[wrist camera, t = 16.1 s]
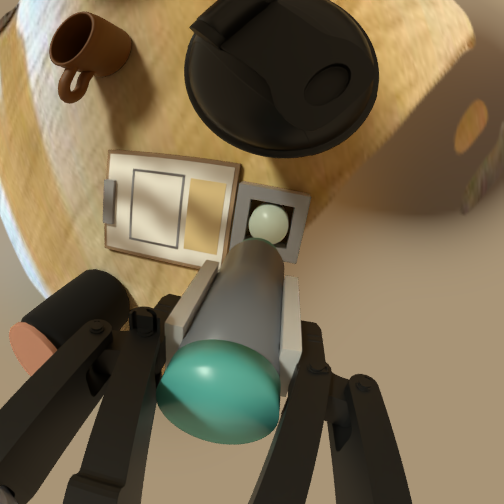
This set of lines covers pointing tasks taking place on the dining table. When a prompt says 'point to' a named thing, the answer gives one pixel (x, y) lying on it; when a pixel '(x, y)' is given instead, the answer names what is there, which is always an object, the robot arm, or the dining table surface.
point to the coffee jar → (68, 316)
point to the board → (169, 206)
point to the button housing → (276, 196)
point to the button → (269, 222)
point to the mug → (87, 52)
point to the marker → (231, 352)
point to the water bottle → (281, 75)
